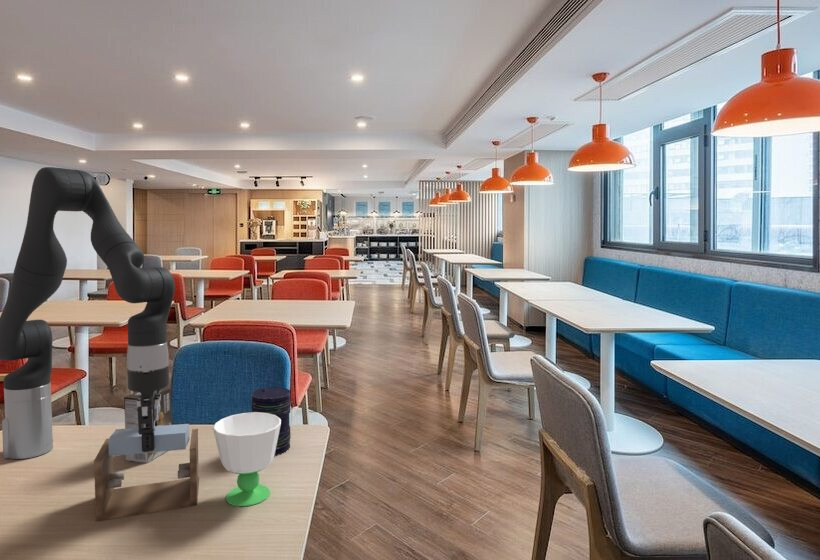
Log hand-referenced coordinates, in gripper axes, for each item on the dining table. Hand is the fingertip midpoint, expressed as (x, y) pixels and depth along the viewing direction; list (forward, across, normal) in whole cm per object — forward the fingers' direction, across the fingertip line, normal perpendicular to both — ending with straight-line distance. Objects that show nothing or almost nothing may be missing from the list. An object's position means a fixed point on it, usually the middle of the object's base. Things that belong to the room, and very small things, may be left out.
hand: (150, 444), depth 102 cm
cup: (+12, +5, +19) cm, 23 cm away
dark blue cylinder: (+12, -18, +26) cm, 34 cm away
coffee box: (+12, -24, -3) cm, 27 cm away
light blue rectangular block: (+1, 0, 0) cm, 1 cm away
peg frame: (+12, 0, 0) cm, 12 cm away
